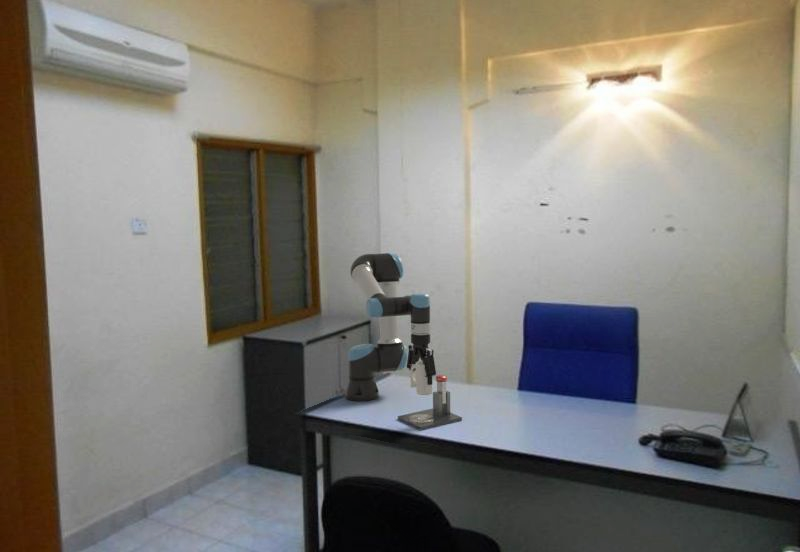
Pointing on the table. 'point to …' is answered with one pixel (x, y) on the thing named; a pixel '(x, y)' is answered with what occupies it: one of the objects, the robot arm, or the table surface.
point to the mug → (420, 378)
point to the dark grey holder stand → (432, 414)
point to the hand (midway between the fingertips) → (421, 389)
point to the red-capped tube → (441, 386)
